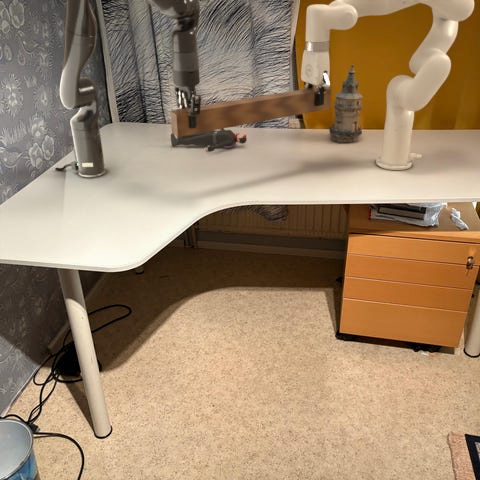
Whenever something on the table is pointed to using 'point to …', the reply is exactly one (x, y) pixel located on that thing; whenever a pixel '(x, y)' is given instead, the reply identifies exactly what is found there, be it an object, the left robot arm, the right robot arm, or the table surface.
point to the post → (248, 111)
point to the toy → (210, 139)
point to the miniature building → (347, 111)
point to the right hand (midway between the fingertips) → (314, 102)
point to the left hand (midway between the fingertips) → (189, 125)
